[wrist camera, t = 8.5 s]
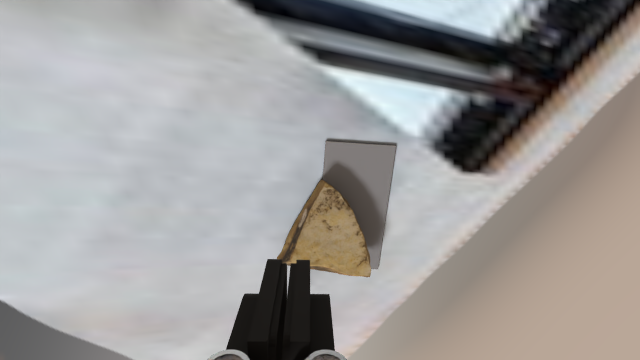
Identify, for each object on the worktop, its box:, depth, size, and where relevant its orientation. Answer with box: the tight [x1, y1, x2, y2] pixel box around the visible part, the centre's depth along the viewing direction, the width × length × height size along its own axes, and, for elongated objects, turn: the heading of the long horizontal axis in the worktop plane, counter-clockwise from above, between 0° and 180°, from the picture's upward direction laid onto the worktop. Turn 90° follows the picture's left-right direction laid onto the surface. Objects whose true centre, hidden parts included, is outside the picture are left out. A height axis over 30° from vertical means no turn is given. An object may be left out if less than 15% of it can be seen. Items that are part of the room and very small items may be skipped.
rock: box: [277, 180, 371, 277], centre depth 35 cm, size 11×9×10 cm
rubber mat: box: [323, 141, 396, 269], centre depth 36 cm, size 8×16×1 cm, turn 176°
